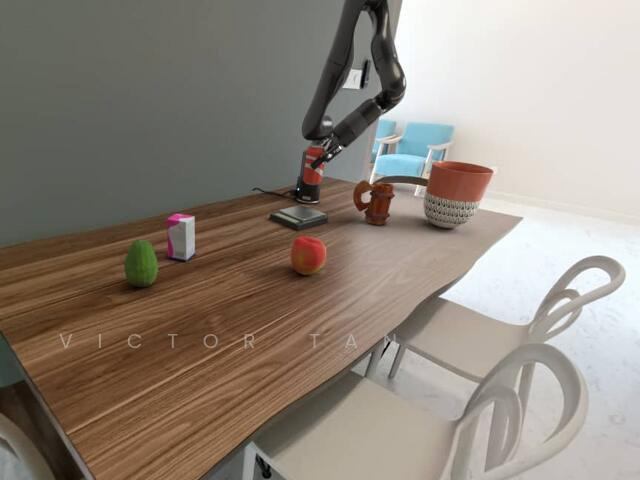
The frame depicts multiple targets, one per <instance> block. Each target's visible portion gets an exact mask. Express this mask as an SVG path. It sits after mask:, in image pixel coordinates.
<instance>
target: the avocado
mask: <svg viewBox="0 0 640 480" xmlns="http://www.w3.org/2000/svg"><path fill="white" fill-rule="evenodd" d="M123 265H124V266H123V267H124V268H123V269H124V274H125V277H126V279H127V282H128V283H129V284H130V285H131V286H134V287H137V288H145V287H149V286H151V285H152V284H153V283H154V282H155V281H156V278H157V275H158V271H159V262H158V257H157V255H156V252H155V249H154V247H153V245H152V243H151V242H150V241H149V240H147V239H142V238H138V239H135V240H134V241H133V242H132V243H131V245H130V246H129V249H128V252H127V254H126V256H125V260H124V264H123Z"/></svg>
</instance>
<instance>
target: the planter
mask: <svg viewBox="0 0 640 480" xmlns="http://www.w3.org/2000/svg"><path fill="white" fill-rule="evenodd" d="M494 173H495V171H494V170H493V169H492V168H489V167H487V166H483V165H479V164H475V163H470V162H463V161H453V160H437V161H433V162H432V163H431V167H430V171H429V175H428V180H427V184H426V188H425V192H424V196H423V205H422V207H423V213H424V215H425V218H426V219H427V221H428V222H429V223H431V224H432V225H434V226H436V227H439V228H443V229H455V228H458V227H460V226H463V225H464V224H466V223H468V222H469V221H470V220H471V219H472V218H473V217H474V216H475V214H476V212H477V211H478V210H479V208H480V205H481V202H482V200H483V198H484V196H485V194H486V191H487V189H488V186H489V184H490V182H491V181H492V177H493V175H494Z"/></svg>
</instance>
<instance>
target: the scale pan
mask: <svg viewBox="0 0 640 480" xmlns="http://www.w3.org/2000/svg"><path fill="white" fill-rule="evenodd" d="M278 212H279V213H282V214H284V215H287V216H290V217H292V218H295V219H297V220H300V221H302V222H305V221H308V220H312V219H316V218H320V217H323V216H326V213H325V212H322V211H318V210H316V209H313V208H310V207H308V206H306V205H302V204H300V205H296V206H295V205H294V206H291V207H287V208H282V209H279V210H278Z"/></svg>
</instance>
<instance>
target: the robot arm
mask: <svg viewBox="0 0 640 480" xmlns="http://www.w3.org/2000/svg"><path fill="white" fill-rule="evenodd" d="M362 12H366V13H367V14H368V17H369V19H370V21H371V26H372V33H371V40H370V55H371V59H372V64H373V67H374V70H375V72H376V74H377V75H378V77H379V81H380V87H381V90H380V91H379V92H378V93H377V94H376V95H375V96H374V97H369V98H367V99H365V100H364V101H363V102H362V103H361V104H360V105H358V106H357V107H356V108H355V109H354V110H353V111H351V112H350V113H349V114H348V115H346V116H345V117H344V118H343V119H342V120H341V121H340V122H339V123H337V124H336V125H335V126H334V121H333V118H332V117H331V116H330V115H329V114H326V112H327V109H328V108H329V106H330V104H331V102H332V101H333V100H334V98H335V97H336V96H337V95H338V94H339V92H340V91H341V90H342V89H343V88H344V86H345V84H347V81H348V79H349V77H350V74H351V73H352V72H351V71H352V69H353V66H354V64H355V59H356V41H355V39H356V37H355V35H356V29H357V25H358V22H359V19H360V16H361V13H362ZM406 90H407V77H406V75H405V71H404V69H403V67H402V65H401V63H400V61H399V55H398V51H397V47H396V44H395V40H394V36H393V32H392V23H391V14H390V4H389V0H343V4H342V7H341V12H340V16H339V20H338V23H337V27H336V30H335V33H334V37H333V40H332V42H331V45H330V49H329V51H328V54H327V57H326V60H325V62H324V66H323V69H322V73H321V75H320V78H319V81H318V84H317V87H316V89H315V92H314V95H313V97H312V100H311V102H310V104H309V107H308V109H307V111H306V114H305V115H304V118H303V121H302V124H301V135H302V137H303V139H305V140H306V141H311V142H310V144H309V145H322V146H325V148H324V149H323V153H322V154H321V155H320V158H319V157H318V158H317V159H316V160H315V161H314V162H313V163H312V164H311V165H310V166H311V168H312V169H313V170H315V169H317V168H318V167H319V166H320V165H321V164H322V163H323V162H324V167H323V172H325V165H326V164H328V163H329V162H331V161H332V160H333V159H334V158H335V157H337V156H338V155H339V154H341V153H342V152H343V148H344V149H346V148H348V147H349V146H350V145H351V144H353V143H354V142H355V141H357V139H358V138H359V137H361V136H362V135H363V134H364V133H365V132H366V131H367V130H368V128H370V127H371V126H372V125H373V124H374V123H375V122H377V120H378V119H379V118H381V117H382V116H384V115H385V114H387V113H389V112H390V111H391V110H393V109H394V108H396V107H397V106H398V105H399V104H400V103H401V102H402V100H403V99H404V97H405V94H406ZM309 145H308V146H307V147H306V148H304V149H303V151H302V154H301V155H302V156H301V163H300V172H299V175H298V176H297V181H296V187H293V188H290V190H287V191H285V192H283V193H279V192H276V191H268V190H267V191H266V190H263V189H262V188H259V187H254V188H252V190H251V191H253V192H254V191H256V190H257V191H260V192H261V193H264V194H270V195H271V194H272V195H276V196H280V197H283V196H286V195H287V194H288V193H289V196H290V197H294V199H295V200H296V201H297V202H299V203H301V204H307V205H315V204H319V203H320V196H321V190H322V183H323V177H324V173H323V174H322V180H321V183H319V184H317V185H310V184H306V183H305V182H304V181H303V176H304V169H305V161H306V154H307V149H308V148H309ZM342 147H343V148H342Z"/></svg>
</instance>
